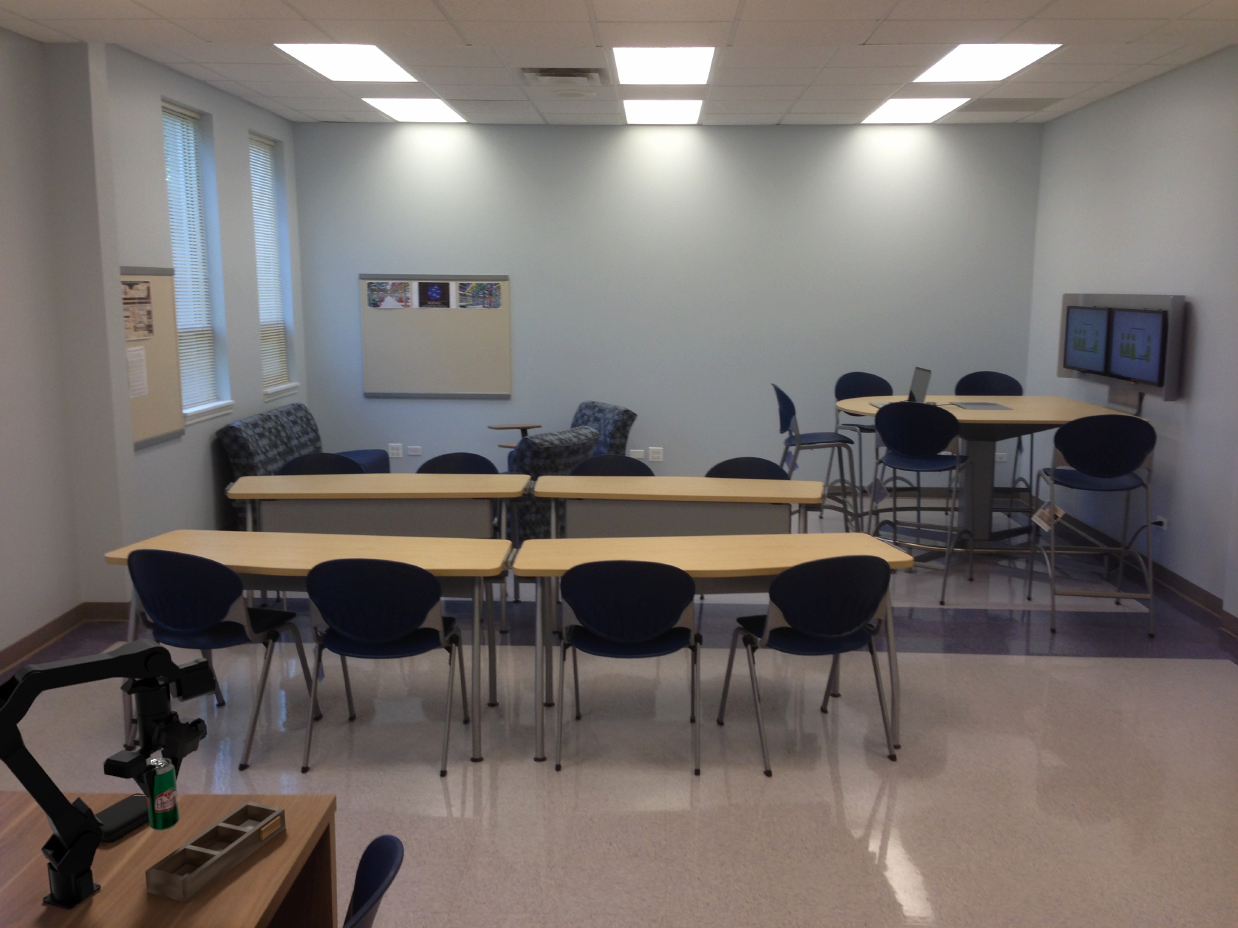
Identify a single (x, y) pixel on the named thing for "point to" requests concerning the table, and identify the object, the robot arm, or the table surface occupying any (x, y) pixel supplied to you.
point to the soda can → (163, 796)
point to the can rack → (214, 851)
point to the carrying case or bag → (123, 817)
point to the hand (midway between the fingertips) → (161, 790)
